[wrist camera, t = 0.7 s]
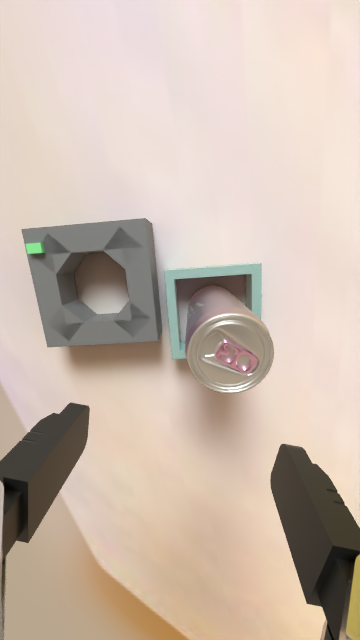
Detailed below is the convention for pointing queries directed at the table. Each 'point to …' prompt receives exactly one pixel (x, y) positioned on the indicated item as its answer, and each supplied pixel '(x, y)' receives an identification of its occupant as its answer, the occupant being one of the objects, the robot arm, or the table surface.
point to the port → (60, 288)
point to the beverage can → (226, 342)
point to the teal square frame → (210, 271)
